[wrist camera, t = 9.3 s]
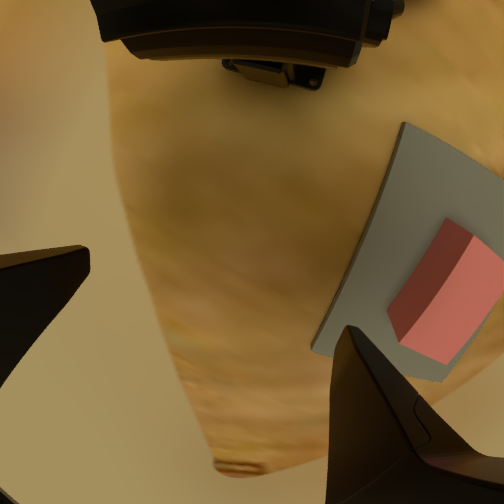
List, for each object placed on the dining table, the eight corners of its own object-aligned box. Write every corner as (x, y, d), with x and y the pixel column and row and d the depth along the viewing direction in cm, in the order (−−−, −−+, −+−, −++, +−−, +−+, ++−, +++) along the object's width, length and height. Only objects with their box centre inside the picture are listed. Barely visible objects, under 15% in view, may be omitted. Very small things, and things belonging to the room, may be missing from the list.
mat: (402, 122, 16) (406, 121, 15) (532, 205, 15) (537, 207, 14) (310, 345, 23) (310, 351, 22) (439, 377, 22) (441, 382, 21)
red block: (386, 310, 19) (398, 343, 16) (446, 217, 16) (474, 235, 13) (430, 333, 19) (446, 364, 16) (487, 250, 16) (515, 272, 13)
